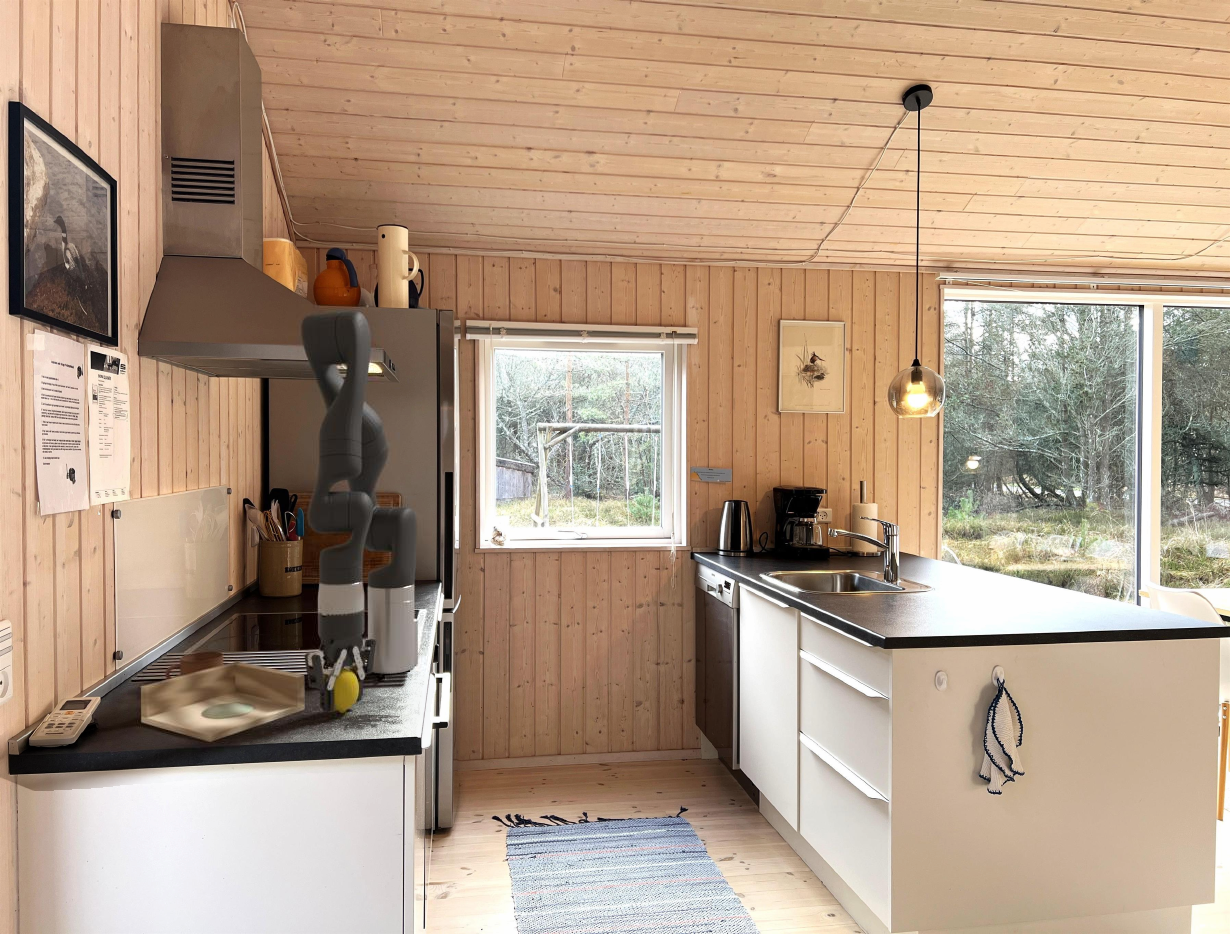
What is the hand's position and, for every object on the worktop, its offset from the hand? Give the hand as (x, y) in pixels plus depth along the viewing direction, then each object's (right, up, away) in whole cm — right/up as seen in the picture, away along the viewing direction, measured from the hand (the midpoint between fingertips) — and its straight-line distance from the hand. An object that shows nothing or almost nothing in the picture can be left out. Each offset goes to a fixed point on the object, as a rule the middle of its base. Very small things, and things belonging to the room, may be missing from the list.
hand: (341, 705), depth 143 cm
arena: (-19, -1, -2) cm, 19 cm away
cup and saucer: (-31, -1, +14) cm, 34 cm away
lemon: (0, -2, 0) cm, 2 cm away
